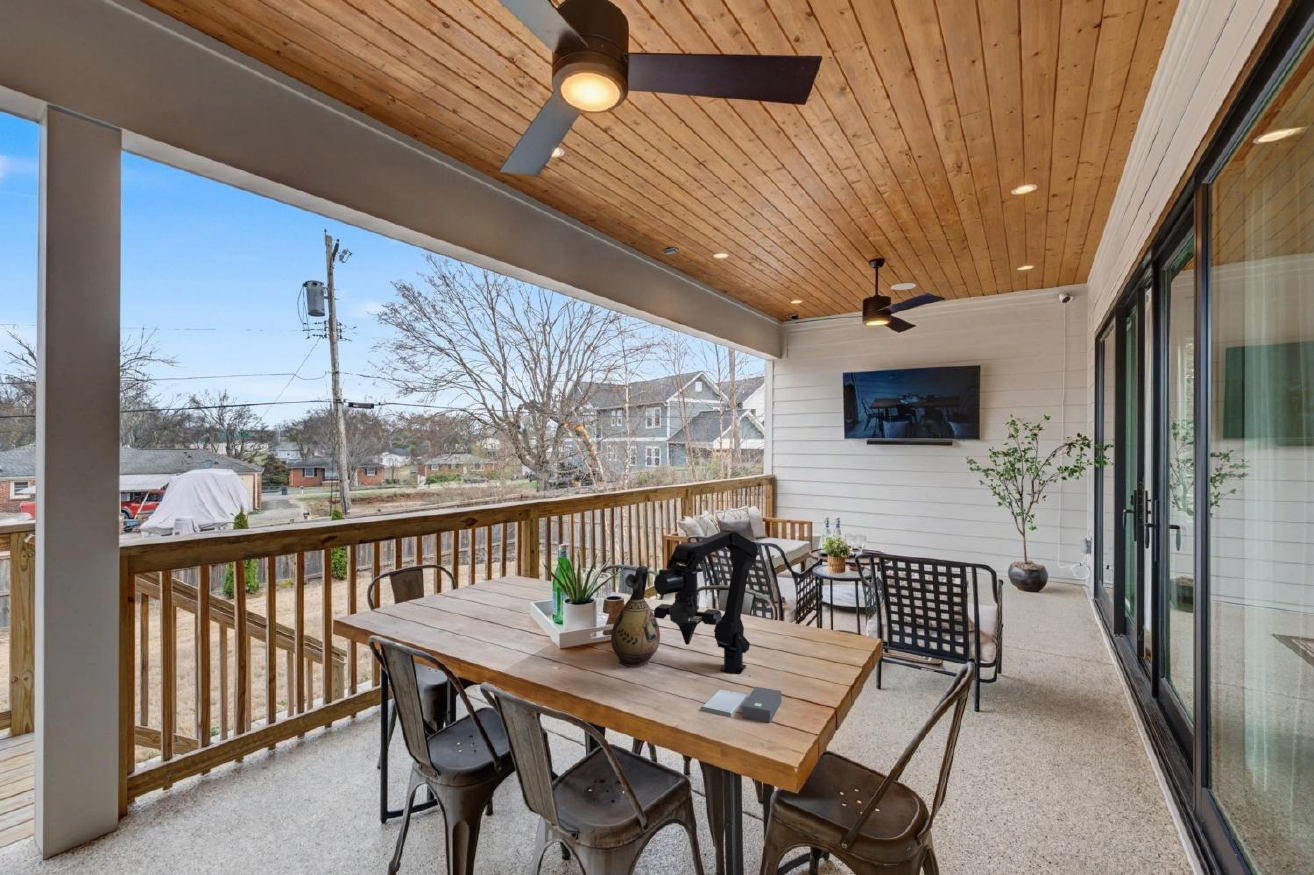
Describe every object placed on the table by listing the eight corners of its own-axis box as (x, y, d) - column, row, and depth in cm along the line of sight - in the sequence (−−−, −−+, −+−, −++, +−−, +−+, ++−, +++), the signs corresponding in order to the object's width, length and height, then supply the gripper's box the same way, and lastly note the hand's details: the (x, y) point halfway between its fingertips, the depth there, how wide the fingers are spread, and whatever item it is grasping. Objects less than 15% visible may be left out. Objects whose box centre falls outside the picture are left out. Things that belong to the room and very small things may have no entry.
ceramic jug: (649, 674, 177) (649, 574, 177) (603, 668, 182) (602, 570, 183) (668, 655, 193) (668, 563, 193) (625, 650, 198) (624, 560, 199)
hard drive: (731, 712, 149) (747, 694, 160) (701, 706, 152) (718, 688, 164) (731, 719, 149) (747, 700, 160) (701, 712, 152) (718, 694, 164)
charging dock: (750, 696, 161) (750, 685, 161) (781, 702, 157) (781, 690, 157) (736, 716, 149) (736, 704, 149) (770, 723, 145) (769, 710, 145)
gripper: (645, 592, 164) (645, 648, 164) (709, 599, 157) (709, 658, 157) (661, 583, 175) (661, 636, 174) (722, 589, 167) (722, 645, 167)
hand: (687, 644), depth 168 cm, fingers closed
